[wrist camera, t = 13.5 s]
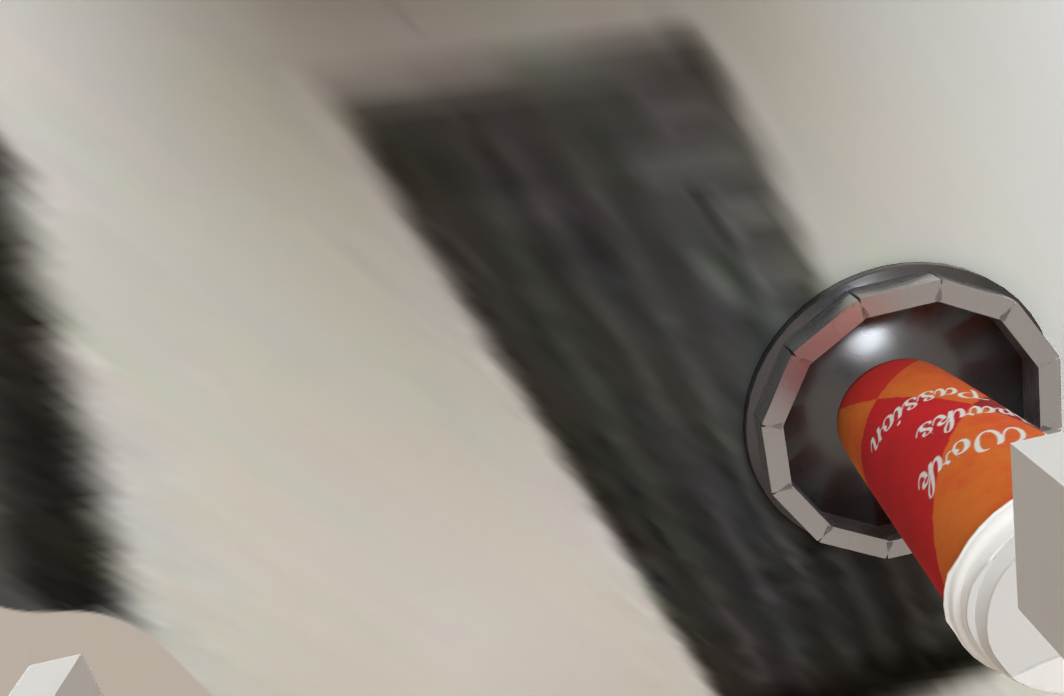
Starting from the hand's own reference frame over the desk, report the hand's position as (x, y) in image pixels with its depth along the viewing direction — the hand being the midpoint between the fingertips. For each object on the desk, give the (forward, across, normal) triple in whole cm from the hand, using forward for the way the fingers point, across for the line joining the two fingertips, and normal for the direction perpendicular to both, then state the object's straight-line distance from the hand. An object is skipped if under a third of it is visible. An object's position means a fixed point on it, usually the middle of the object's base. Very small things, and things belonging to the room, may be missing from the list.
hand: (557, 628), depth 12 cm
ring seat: (+29, +16, -14) cm, 36 cm away
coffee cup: (+28, +16, -14) cm, 35 cm away
